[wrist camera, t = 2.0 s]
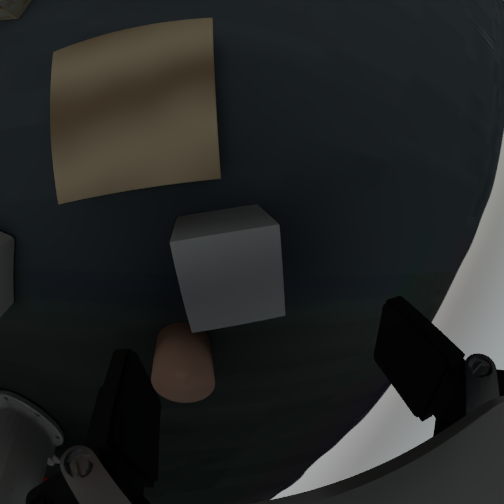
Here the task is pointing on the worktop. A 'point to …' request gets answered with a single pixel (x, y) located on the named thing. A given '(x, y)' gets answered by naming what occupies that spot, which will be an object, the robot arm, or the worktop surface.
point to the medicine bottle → (6, 271)
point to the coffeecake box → (12, 8)
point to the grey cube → (229, 267)
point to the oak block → (134, 110)
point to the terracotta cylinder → (183, 364)
